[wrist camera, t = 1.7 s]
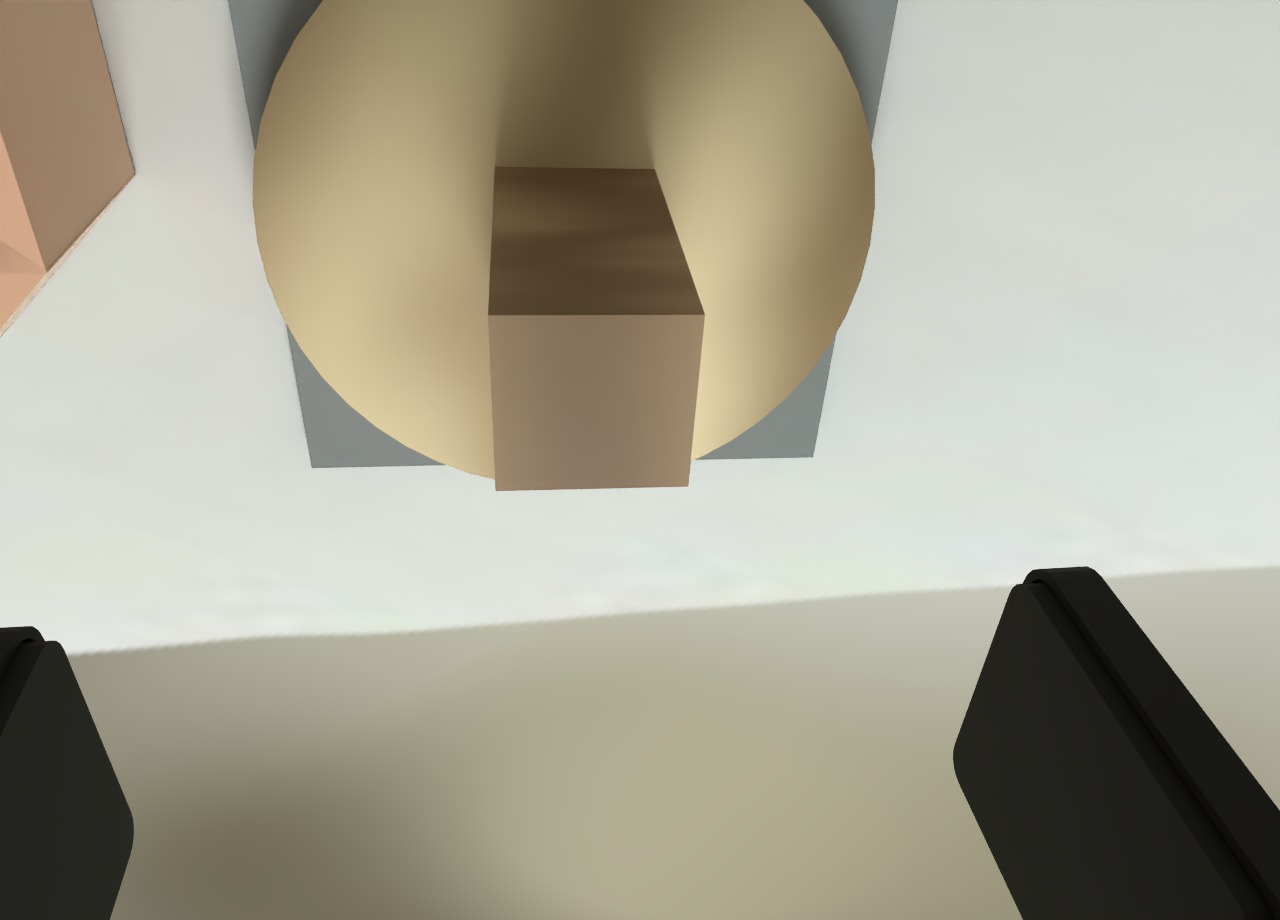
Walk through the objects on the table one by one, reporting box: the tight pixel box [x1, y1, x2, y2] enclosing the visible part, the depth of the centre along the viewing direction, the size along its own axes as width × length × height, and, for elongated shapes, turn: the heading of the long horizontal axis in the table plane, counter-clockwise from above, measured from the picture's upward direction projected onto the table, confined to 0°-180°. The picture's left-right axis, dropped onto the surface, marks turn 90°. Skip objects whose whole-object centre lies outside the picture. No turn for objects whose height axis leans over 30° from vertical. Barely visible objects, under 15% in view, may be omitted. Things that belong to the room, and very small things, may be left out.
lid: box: [253, 0, 875, 491], centre depth 17 cm, size 12×12×7 cm
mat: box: [228, 0, 898, 468], centre depth 20 cm, size 12×12×1 cm
